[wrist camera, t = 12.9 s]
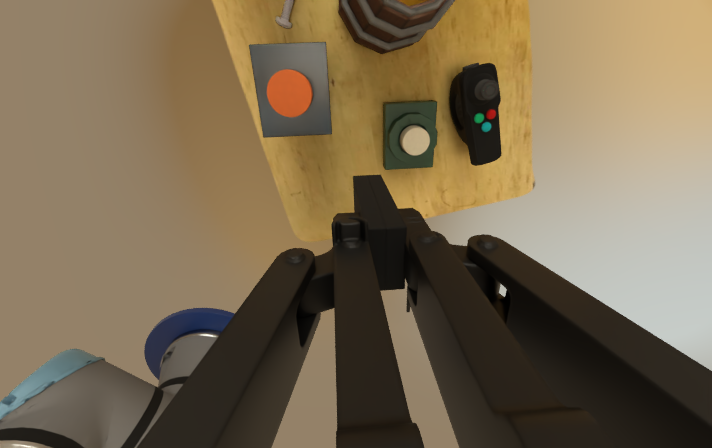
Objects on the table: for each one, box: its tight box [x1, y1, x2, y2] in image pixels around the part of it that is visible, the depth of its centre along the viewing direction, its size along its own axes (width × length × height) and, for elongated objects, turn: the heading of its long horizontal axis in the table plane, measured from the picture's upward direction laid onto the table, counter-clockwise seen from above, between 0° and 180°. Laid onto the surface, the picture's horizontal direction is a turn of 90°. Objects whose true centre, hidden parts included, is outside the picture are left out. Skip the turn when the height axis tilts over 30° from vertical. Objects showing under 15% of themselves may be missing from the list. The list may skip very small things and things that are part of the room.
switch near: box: [249, 42, 332, 138], centre depth 36 cm, size 8×6×16 cm
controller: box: [449, 63, 501, 166], centre depth 41 cm, size 4×12×10 cm, turn 17°
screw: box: [275, 0, 294, 28], centre depth 38 cm, size 2×5×2 cm, turn 158°
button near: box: [267, 69, 313, 117], centre depth 26 cm, size 4×4×2 cm
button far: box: [400, 125, 430, 155], centre depth 42 cm, size 4×4×2 cm
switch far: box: [383, 100, 437, 170], centre depth 45 cm, size 9×7×4 cm
